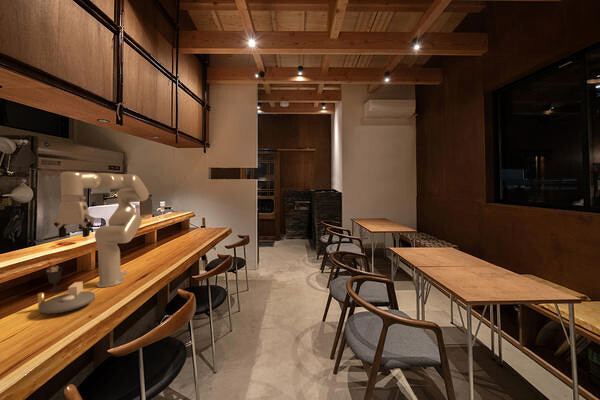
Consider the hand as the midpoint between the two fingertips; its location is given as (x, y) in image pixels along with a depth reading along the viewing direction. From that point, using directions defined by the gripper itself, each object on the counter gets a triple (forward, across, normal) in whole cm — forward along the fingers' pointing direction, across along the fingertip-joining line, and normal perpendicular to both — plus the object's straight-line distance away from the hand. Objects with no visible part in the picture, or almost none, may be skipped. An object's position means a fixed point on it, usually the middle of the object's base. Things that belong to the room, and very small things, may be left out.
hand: (74, 236), depth 116 cm
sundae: (+30, +21, -16) cm, 40 cm away
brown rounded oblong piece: (+30, +3, +5) cm, 31 cm away
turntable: (+28, -1, +5) cm, 29 cm away
